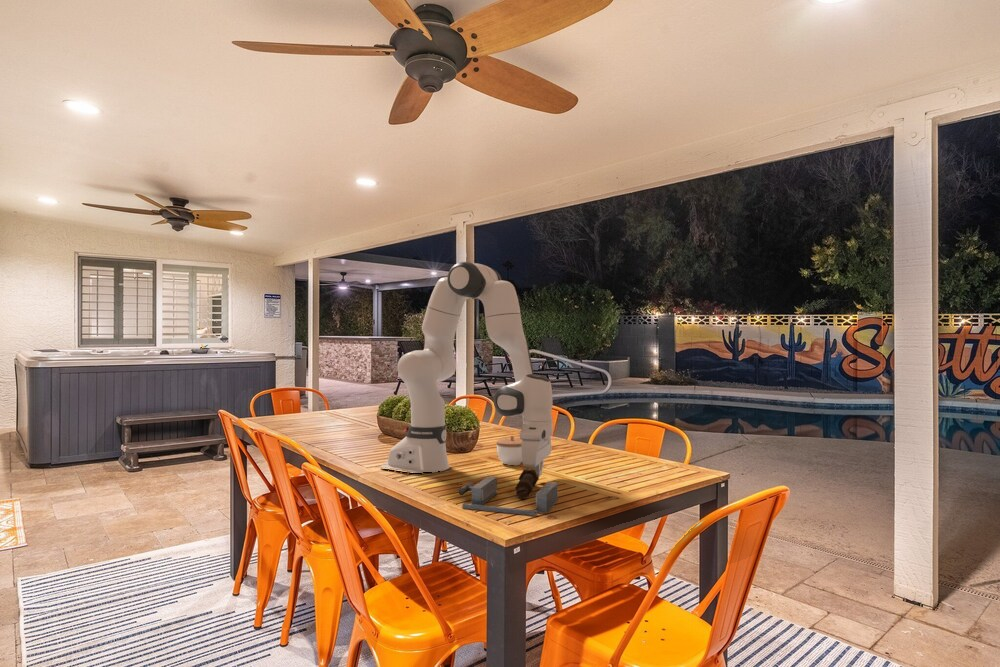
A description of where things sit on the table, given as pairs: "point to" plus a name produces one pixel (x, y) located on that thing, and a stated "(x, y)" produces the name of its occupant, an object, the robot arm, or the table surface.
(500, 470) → the table surface
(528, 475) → the bolt
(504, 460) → the lidded jar
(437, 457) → the robot arm
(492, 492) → the jaw
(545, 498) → the vise
